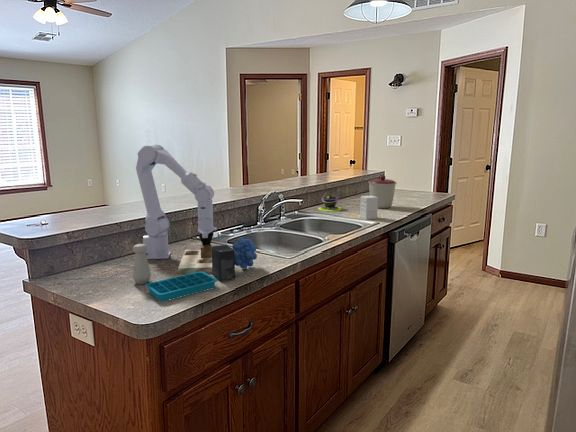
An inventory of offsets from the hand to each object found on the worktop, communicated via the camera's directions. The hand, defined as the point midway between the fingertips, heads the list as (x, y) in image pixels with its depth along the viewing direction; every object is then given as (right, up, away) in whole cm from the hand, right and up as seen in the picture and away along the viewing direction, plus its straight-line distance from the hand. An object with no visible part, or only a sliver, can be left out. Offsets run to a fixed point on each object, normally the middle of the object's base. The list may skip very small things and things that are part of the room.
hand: (206, 251), depth 167 cm
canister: (+93, +19, +110) cm, 146 cm away
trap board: (-2, -4, -5) cm, 7 cm away
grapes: (+17, -6, -12) cm, 21 cm away
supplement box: (+78, +12, +77) cm, 111 cm away
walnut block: (+1, -2, -3) cm, 4 cm away
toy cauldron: (+59, +18, +104) cm, 121 cm away
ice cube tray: (-2, -10, -32) cm, 33 cm away
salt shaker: (-17, -9, -25) cm, 31 cm away
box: (+10, -8, -20) cm, 23 cm away
